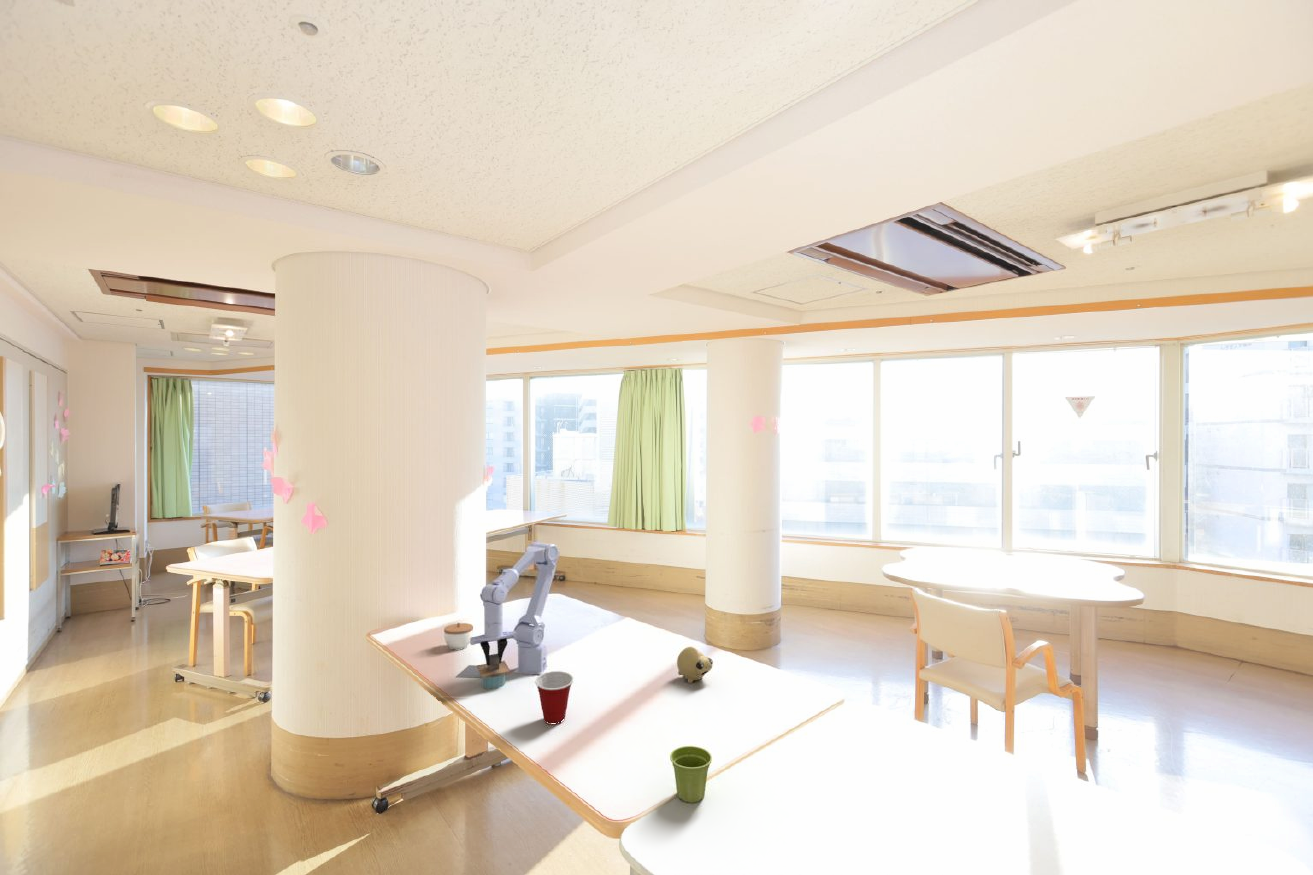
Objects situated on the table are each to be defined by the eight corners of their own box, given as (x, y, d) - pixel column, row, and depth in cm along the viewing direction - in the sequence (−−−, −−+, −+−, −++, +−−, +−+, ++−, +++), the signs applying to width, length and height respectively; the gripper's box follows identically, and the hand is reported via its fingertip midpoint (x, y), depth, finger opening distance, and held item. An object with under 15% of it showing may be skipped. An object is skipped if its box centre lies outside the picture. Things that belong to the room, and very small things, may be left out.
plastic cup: (536, 731, 165) (536, 687, 165) (533, 714, 175) (533, 673, 175) (576, 726, 168) (576, 683, 168) (571, 709, 178) (571, 669, 178)
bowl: (508, 681, 200) (508, 668, 200) (500, 690, 193) (500, 676, 193) (487, 680, 200) (487, 667, 200) (479, 689, 193) (479, 676, 193)
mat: (498, 667, 212) (498, 666, 212) (486, 679, 202) (486, 678, 202) (469, 665, 214) (469, 665, 214) (454, 677, 203) (454, 677, 203)
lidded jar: (477, 642, 238) (477, 619, 238) (466, 652, 228) (466, 627, 228) (451, 642, 239) (451, 618, 240) (439, 651, 229) (439, 626, 229)
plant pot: (709, 782, 140) (709, 745, 140) (714, 807, 130) (714, 767, 130) (669, 783, 139) (668, 746, 139) (671, 808, 130) (671, 768, 130)
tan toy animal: (697, 689, 192) (697, 656, 192) (671, 679, 201) (671, 647, 201) (718, 681, 199) (717, 648, 199) (691, 671, 207) (691, 640, 207)
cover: (504, 662, 203) (504, 648, 203) (510, 672, 195) (510, 658, 195) (476, 667, 199) (477, 653, 199) (482, 677, 191) (482, 663, 190)
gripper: (512, 615, 203) (513, 655, 203) (468, 621, 197) (468, 662, 197) (517, 620, 197) (518, 662, 197) (472, 627, 191) (472, 670, 191)
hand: (493, 663), depth 197 cm, fingers closed on cover, 3 cm apart
